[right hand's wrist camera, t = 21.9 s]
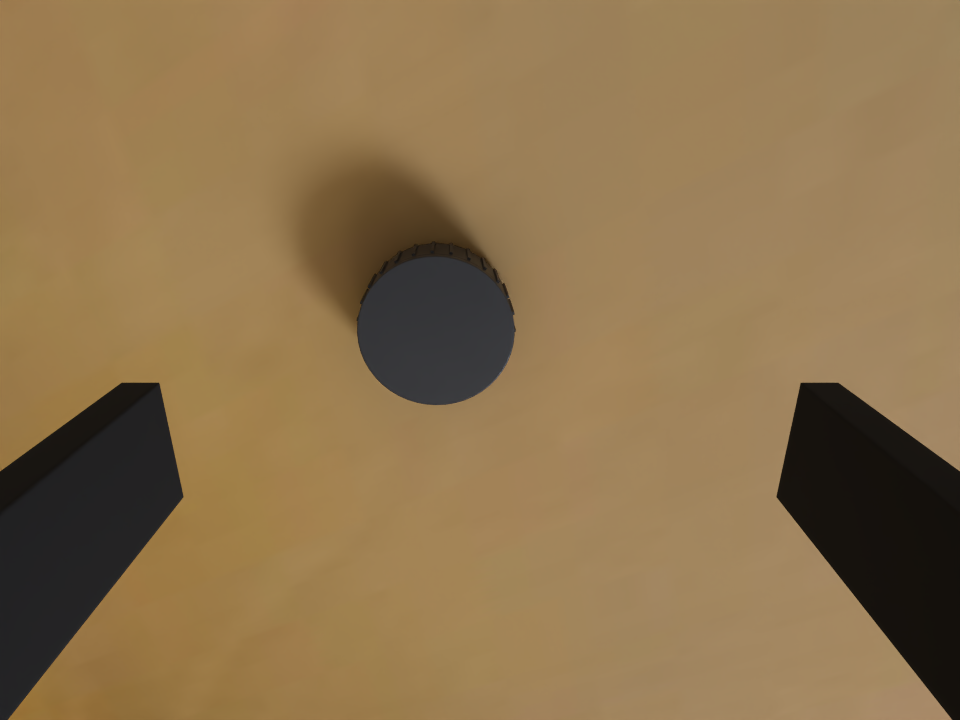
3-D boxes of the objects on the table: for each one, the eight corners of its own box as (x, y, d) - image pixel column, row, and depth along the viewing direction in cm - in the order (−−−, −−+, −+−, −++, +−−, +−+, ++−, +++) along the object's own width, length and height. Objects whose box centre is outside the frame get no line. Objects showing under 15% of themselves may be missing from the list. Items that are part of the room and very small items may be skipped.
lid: (335, 286, 22) (322, 303, 19) (466, 212, 21) (468, 222, 19) (412, 404, 23) (407, 432, 21) (535, 340, 23) (544, 362, 21)
